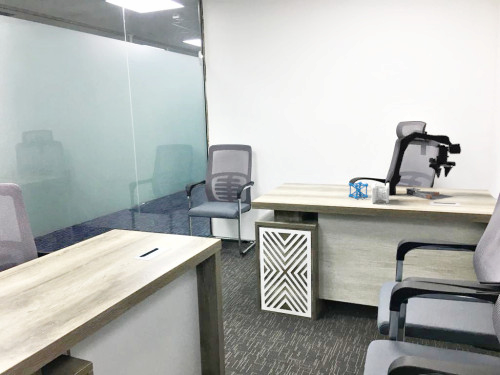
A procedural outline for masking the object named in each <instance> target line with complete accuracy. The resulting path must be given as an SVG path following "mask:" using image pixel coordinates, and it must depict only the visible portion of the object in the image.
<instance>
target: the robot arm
mask: <svg viewBox="0 0 500 375" xmlns="http://www.w3.org/2000/svg"><path fill="white" fill-rule="evenodd" d="M415 139H422V140H427V141H433V142H436V143H437V144H436V145H435V146H434V147H435V148H437V150H438V152H437V153H438V154H437V155H436V156H435V157H429V158H428V163H429V164H428V167H429V168H431V169H433V171H434V172H435V175H436V178H437V179H439V178H440V176H441V173H442V169H443V170H444V178H447V177H448V175H449V173H450V172H451V170H452V169H453V168H454V167H456V165H457V163H456V162H455V161H448V160H449V159H448V158H450V155H460V154H461V152H462V149H461V148H462V147H461V143H452V141H451V140H450V137H449V136H448V135H444V134H429V133H422V132H418V131H412V132H411V133H409V134H408V135H406V136H404V137H401V138H399V139H398V141H397V153H396V158H395V162H394V165H393V170H392V172H391V174H390V175H389V177H388V179H387V181H385V182H384V183H385V185H386V183H389V197H392V196H397V187H396V186H397V185H399V183H400V182H401V179H402V175H401V174H400V171H401V168H402V163H403V159H404V156H405V152H406V150H407V149H408V147H409V145H410V143H412V142H413V141H414V140H415ZM449 154H450V155H449ZM441 167H443V168H441Z"/></svg>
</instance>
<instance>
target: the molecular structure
mask: <svg viewBox="0 0 500 375" xmlns="http://www.w3.org/2000/svg"><path fill="white" fill-rule="evenodd" d="M348 186H349V194H348V198H351V197H353V198H354V199H355V200H358V199H359V198H366V199H367V198H369V194H368V187H369V183H362V182H361V181H359V182H358V183H357V182H356V183H355V182H354V183H352V182H348ZM352 188H354V189H355V191H354V192H352ZM364 188H365V193H363V192H362V191H361V190H362V189H364Z"/></svg>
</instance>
